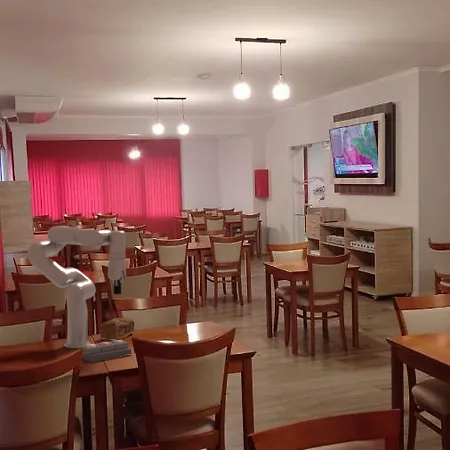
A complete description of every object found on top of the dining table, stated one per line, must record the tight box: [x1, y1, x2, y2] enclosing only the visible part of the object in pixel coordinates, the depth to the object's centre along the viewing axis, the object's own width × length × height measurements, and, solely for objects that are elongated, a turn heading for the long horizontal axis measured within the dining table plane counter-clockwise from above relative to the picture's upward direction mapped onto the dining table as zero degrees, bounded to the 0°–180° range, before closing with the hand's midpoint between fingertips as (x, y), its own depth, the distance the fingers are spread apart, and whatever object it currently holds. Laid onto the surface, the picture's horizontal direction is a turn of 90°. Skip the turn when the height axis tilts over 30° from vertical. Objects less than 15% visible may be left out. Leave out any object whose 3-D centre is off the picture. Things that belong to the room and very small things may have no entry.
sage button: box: [114, 339, 124, 344], centre depth 284 cm, size 4×4×3 cm
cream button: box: [87, 343, 97, 348], centre depth 275 cm, size 4×4×3 cm
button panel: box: [80, 340, 132, 363], centre depth 280 cm, size 12×21×6 cm, turn 130°
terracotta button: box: [100, 341, 110, 346], centre depth 280 cm, size 4×4×3 cm
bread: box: [99, 317, 135, 339], centre depth 319 cm, size 19×11×10 cm, turn 158°
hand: (117, 293), depth 292 cm, fingers closed
